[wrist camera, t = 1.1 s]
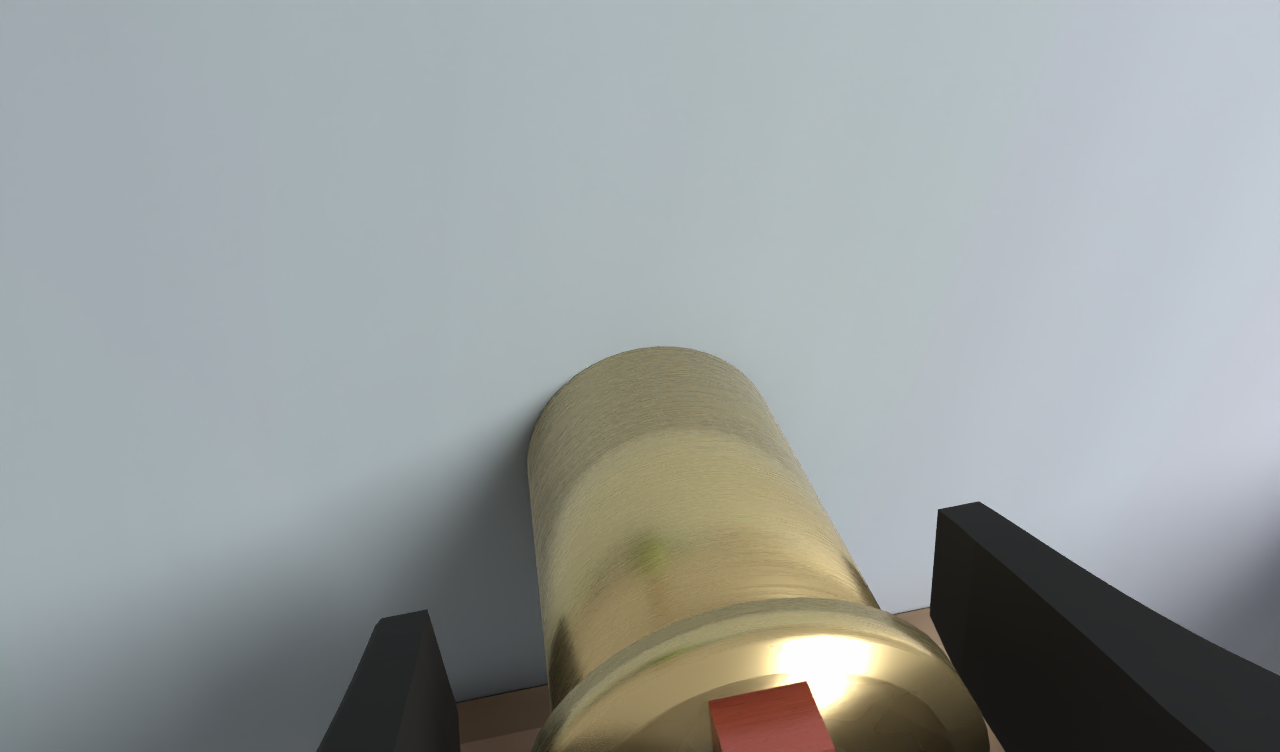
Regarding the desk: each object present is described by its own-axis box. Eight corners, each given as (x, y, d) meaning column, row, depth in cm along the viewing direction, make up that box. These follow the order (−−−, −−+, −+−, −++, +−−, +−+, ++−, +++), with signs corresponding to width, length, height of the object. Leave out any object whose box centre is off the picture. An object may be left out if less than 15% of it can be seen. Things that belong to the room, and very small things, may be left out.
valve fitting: (792, 301, 15) (1059, 656, 8) (797, 543, 17) (1002, 964, 11) (477, 353, 14) (483, 778, 8) (530, 595, 17) (569, 1069, 10)
